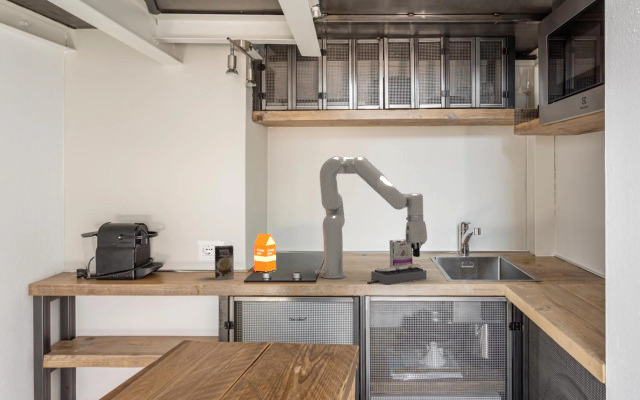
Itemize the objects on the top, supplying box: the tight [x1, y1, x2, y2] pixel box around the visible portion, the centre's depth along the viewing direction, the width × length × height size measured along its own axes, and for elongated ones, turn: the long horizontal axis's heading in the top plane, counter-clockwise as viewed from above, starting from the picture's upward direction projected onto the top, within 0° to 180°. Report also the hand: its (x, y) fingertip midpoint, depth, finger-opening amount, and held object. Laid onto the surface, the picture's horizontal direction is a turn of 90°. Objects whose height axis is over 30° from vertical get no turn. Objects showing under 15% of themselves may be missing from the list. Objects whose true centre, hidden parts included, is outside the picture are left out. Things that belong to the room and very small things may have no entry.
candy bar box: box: [389, 238, 413, 267], centre depth 234 cm, size 11×5×16 cm, turn 105°
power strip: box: [366, 267, 428, 286], centre depth 214 cm, size 30×12×5 cm, turn 118°
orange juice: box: [253, 233, 277, 272], centre depth 238 cm, size 8×9×20 cm
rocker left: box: [376, 266, 396, 271], centre depth 212 cm, size 5×8×1 cm, turn 28°
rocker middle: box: [393, 266, 408, 269], centre depth 215 cm, size 5×8×1 cm, turn 28°
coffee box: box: [214, 244, 235, 281], centre depth 222 cm, size 9×6×16 cm
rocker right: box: [402, 263, 421, 268], centre depth 219 cm, size 5×8×1 cm, turn 28°
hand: (416, 256), depth 216 cm, fingers closed
